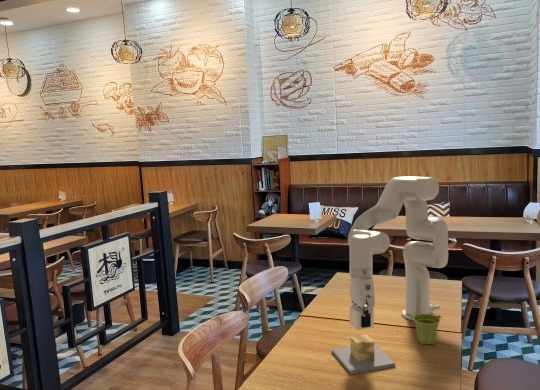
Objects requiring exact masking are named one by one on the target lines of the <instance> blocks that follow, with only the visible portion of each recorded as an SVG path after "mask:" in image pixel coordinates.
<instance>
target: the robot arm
mask: <svg viewBox="0 0 540 390" xmlns="http://www.w3.org/2000/svg"><path fill="white" fill-rule="evenodd" d="M439 190H440V186H439V182H438V180H437V179H436V178H434V177H433V176H432V177H431V176H429V177H428V176H396V177H392V178H390V179H389V180H388V181H387V183H386V185H385V187H384V189H383V191H382V193H381V195H380V197H379V199H378V201H377V203H376V204H375V205H374V206H372V207H370V208H369V209H368V210H366V211H364V212H363V213H362V214H360V215H359V216H358V217H357V218H356V219H355V221H354V222H353V224H352V226H351V227H350V229H349V232H348V237H347V243H348V246H349V247H348V248H349V249H348V250H349V276H350V281H349V296H350V300H351V303H352V304H351V306H355V305H358V306H360V307H361V310H362V316H361V327H362V328H365V327H370V326H371V313H372V311H373V310H374V307H375V305H376V301H375V300H376V299H375V285H374V284H375V283H374V280H373V264H374V263H373V255H378V254H383V253H385V252H386V251H387V250H388V249H389V247H390V244H391V240H390V237H389V236H388V234H387V233H385V232H383V231H380V230H370V228H372V227H373V226H376V225H379V224H383V223H386V222H390V221H393V220H395V219H396V218H398V217H399V214H400V213H401V210H402V207H403V205H404V208H405V227H406V228H405V229H406V234H407V236H408V237H409V238H411V239H413V241H412V240H411V241H408V242H407V243H405V244H404V246H403V249H402V254H403V261H404V267H405V309H403V310H402V311H401V316H402V317H403V318H404V319H406V320H410V321H413V322H415V321H414V320H413V317H414V316H415V315H418V314H430V315H434V313H433V312H434V311H440V309H441V306H440V304H435V305H434V304H433V303H430V302H431V301H430V300H431V299H430V297H431V294H430V293H431V292H430V287H431V286H430V284H431V277H430V276H431V275H430V271H429V270H428V268H437V269H441V268H442V269H443V268H445V267H446V266H447V265H448V260H449V231H448V230H449V228H448V224H447V222H446V220H445V219H443V218H441V217H435V216H429V215H428V213H429V212H428V202H427V201H433V200H434V199H435V198H436V197H437V195H438V194H439ZM414 239H415V241H414ZM419 240H420V241H419ZM421 240H422V241H421ZM424 241H425V242H424ZM426 241H429V242H426ZM427 267H428V268H427ZM364 305H367V306H365V307H364ZM364 308H367V310H366V311H364Z"/></svg>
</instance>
